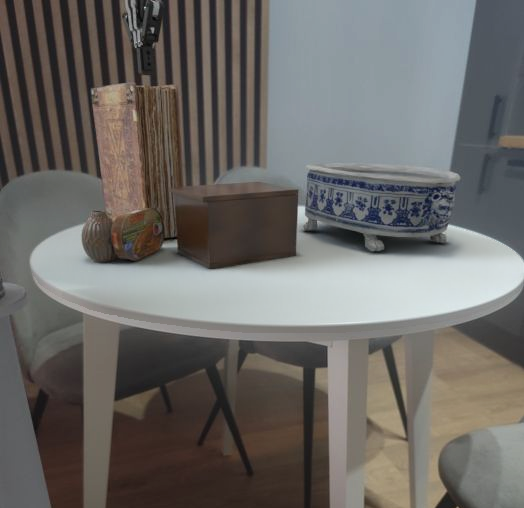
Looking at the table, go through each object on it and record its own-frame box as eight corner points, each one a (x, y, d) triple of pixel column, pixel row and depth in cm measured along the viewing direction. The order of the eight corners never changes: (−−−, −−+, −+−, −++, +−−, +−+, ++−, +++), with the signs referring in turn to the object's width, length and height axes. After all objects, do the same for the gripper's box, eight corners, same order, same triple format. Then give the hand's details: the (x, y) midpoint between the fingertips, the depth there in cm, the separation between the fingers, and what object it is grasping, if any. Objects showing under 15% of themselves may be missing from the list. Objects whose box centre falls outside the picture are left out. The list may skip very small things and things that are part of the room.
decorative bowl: (271, 225, 123) (272, 161, 116) (353, 216, 135) (359, 158, 129) (396, 266, 90) (408, 179, 84) (489, 249, 103) (505, 173, 96)
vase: (76, 262, 90) (69, 213, 87) (98, 253, 96) (92, 207, 93) (109, 265, 89) (103, 215, 85) (130, 256, 95) (125, 209, 91)
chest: (210, 269, 87) (207, 202, 82) (177, 252, 98) (173, 192, 93) (296, 255, 97) (298, 194, 92) (258, 241, 107) (258, 186, 102)
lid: (203, 202, 82) (203, 196, 82) (169, 192, 93) (169, 187, 92) (298, 194, 92) (298, 189, 91) (258, 186, 102) (258, 181, 102)
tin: (126, 265, 89) (121, 217, 85) (111, 264, 90) (105, 216, 86) (167, 247, 102) (164, 205, 98) (153, 246, 102) (150, 204, 99)
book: (187, 238, 109) (179, 84, 97) (147, 243, 104) (133, 82, 92) (141, 220, 128) (129, 89, 115) (106, 223, 123) (90, 87, 111)
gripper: (99, -50, 78) (112, 76, 85) (127, -74, 68) (138, 70, 75) (145, -41, 82) (153, 78, 89) (177, -63, 72) (184, 73, 79)
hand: (146, 74), depth 82 cm, fingers closed
